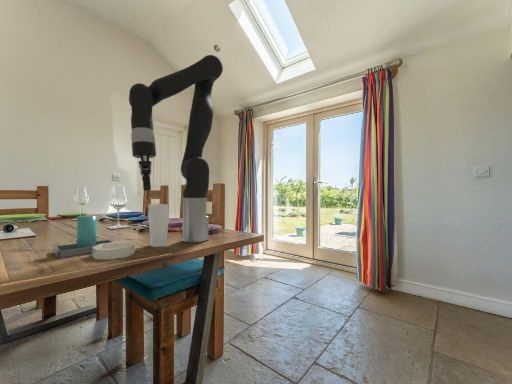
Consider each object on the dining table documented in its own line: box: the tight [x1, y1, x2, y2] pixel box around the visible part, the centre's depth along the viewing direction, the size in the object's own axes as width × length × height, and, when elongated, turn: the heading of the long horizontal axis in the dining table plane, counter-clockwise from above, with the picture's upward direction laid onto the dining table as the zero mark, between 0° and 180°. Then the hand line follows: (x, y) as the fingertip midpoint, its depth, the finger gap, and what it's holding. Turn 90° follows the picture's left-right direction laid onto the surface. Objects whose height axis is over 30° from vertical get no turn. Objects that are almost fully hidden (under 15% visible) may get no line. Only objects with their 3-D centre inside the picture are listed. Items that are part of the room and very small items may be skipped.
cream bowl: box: [91, 241, 136, 260], centre depth 73 cm, size 10×10×3 cm
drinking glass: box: [147, 203, 170, 248], centre depth 86 cm, size 7×7×15 cm
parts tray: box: [53, 239, 115, 259], centre depth 77 cm, size 15×9×2 cm, turn 135°
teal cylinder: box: [76, 214, 98, 249], centre depth 77 cm, size 5×5×11 cm
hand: (146, 189), depth 84 cm, fingers open, 8 cm apart
